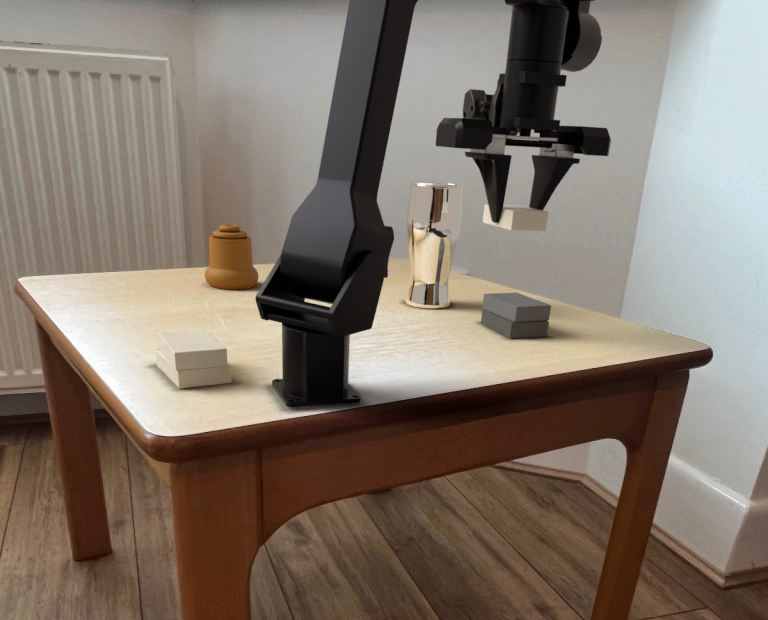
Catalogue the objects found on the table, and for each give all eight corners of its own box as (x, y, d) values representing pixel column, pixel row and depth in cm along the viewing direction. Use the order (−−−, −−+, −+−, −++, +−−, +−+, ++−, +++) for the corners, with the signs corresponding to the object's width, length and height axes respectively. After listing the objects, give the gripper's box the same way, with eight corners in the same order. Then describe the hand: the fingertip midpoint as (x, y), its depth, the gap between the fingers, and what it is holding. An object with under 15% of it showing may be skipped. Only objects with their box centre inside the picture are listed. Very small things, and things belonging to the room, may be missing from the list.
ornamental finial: (267, 283, 108) (243, 292, 102) (221, 278, 110) (195, 286, 104) (266, 225, 105) (241, 230, 98) (218, 220, 107) (191, 225, 100)
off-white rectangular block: (545, 230, 83) (548, 211, 82) (511, 230, 81) (513, 210, 80) (515, 223, 89) (517, 204, 88) (482, 222, 87) (484, 204, 86)
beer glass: (393, 304, 100) (400, 182, 93) (415, 296, 106) (423, 181, 99) (440, 312, 97) (451, 187, 90) (460, 303, 103) (472, 185, 96)
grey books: (548, 336, 88) (553, 306, 87) (509, 338, 87) (513, 307, 85) (516, 321, 95) (520, 292, 93) (479, 322, 93) (482, 293, 92)
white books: (232, 383, 67) (231, 348, 66) (178, 389, 65) (175, 353, 63) (206, 360, 73) (204, 328, 71) (155, 365, 70) (152, 332, 69)
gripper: (569, 73, 87) (548, 216, 94) (422, 60, 81) (411, 213, 88) (626, 69, 78) (598, 227, 85) (465, 53, 72) (450, 225, 79)
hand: (513, 222), depth 85 cm, fingers closed on off-white rectangular block, 4 cm apart
